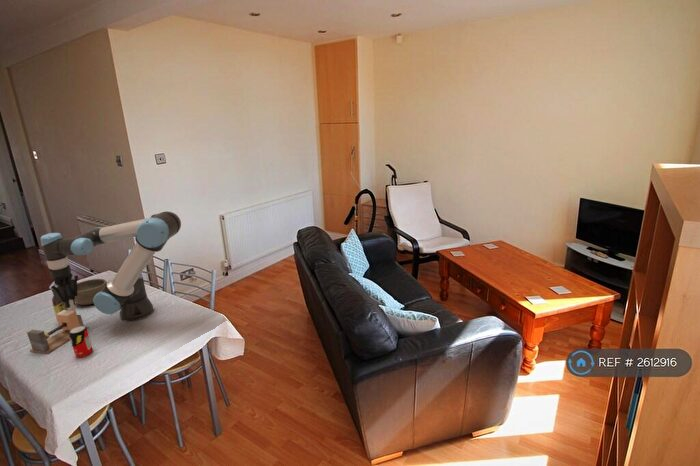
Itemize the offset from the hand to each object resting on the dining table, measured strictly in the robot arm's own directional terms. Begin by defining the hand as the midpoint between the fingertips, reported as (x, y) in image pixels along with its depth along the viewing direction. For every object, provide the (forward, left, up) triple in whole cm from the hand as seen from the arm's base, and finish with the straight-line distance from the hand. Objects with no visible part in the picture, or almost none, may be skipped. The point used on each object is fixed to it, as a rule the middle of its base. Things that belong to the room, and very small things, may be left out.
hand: (72, 312), depth 173 cm
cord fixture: (0, +9, -9) cm, 13 cm away
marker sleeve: (0, +3, -6) cm, 7 cm away
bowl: (+17, -25, -9) cm, 32 cm away
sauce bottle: (+11, -4, -9) cm, 15 cm away
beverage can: (-21, +16, -9) cm, 28 cm away
